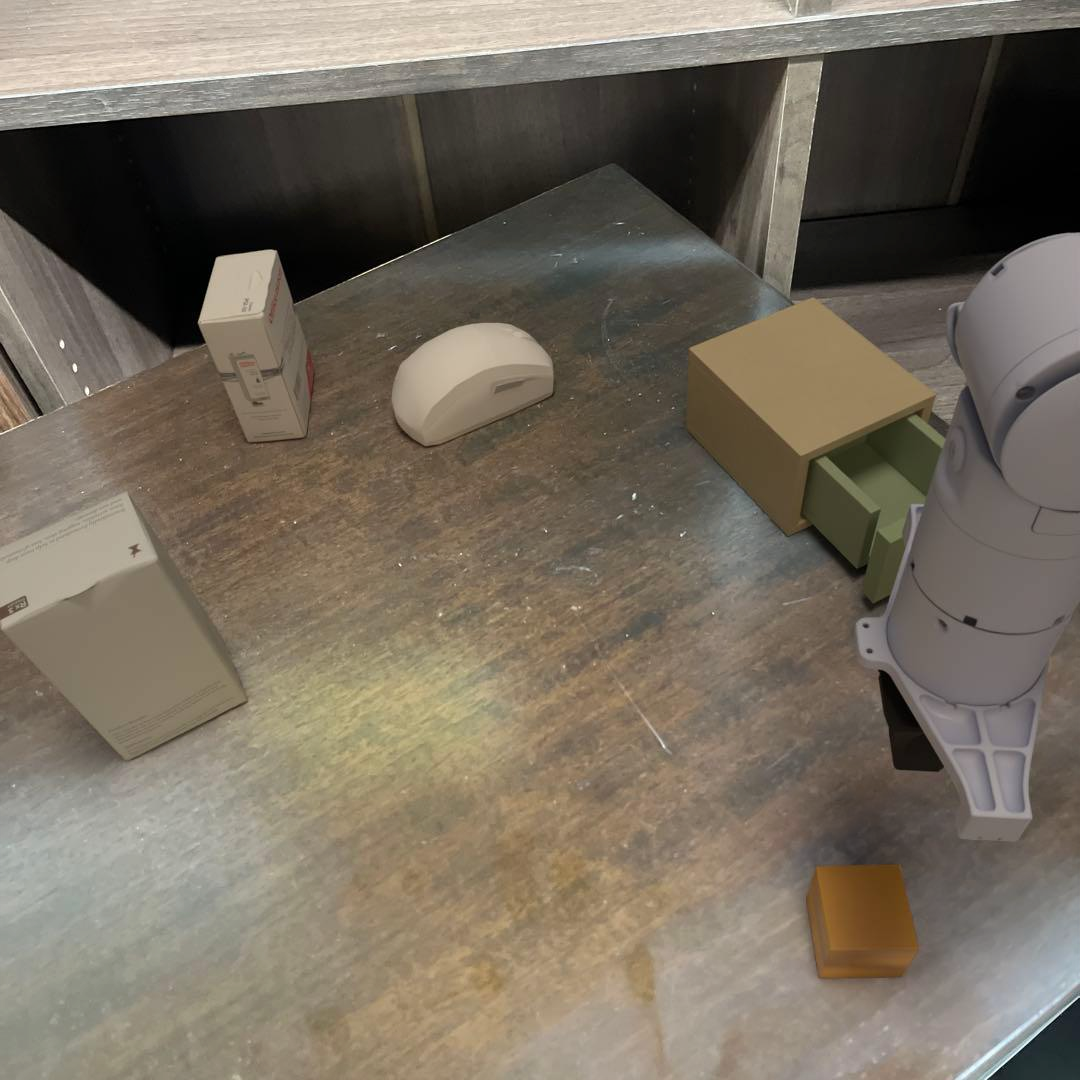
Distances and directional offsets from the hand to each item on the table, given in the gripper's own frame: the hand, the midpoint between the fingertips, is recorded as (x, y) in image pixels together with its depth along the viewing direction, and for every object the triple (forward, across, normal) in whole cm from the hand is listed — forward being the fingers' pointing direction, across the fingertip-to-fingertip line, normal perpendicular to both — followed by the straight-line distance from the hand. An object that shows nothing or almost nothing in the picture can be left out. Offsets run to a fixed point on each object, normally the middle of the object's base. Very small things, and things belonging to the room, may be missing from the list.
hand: (915, 757), depth 45 cm
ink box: (+10, -34, -42) cm, 55 cm away
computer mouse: (+10, -35, -27) cm, 45 cm away
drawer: (+9, -21, +3) cm, 23 cm away
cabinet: (+10, -30, -2) cm, 31 cm away
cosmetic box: (+10, -7, -42) cm, 43 cm away
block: (+10, +5, -2) cm, 11 cm away
